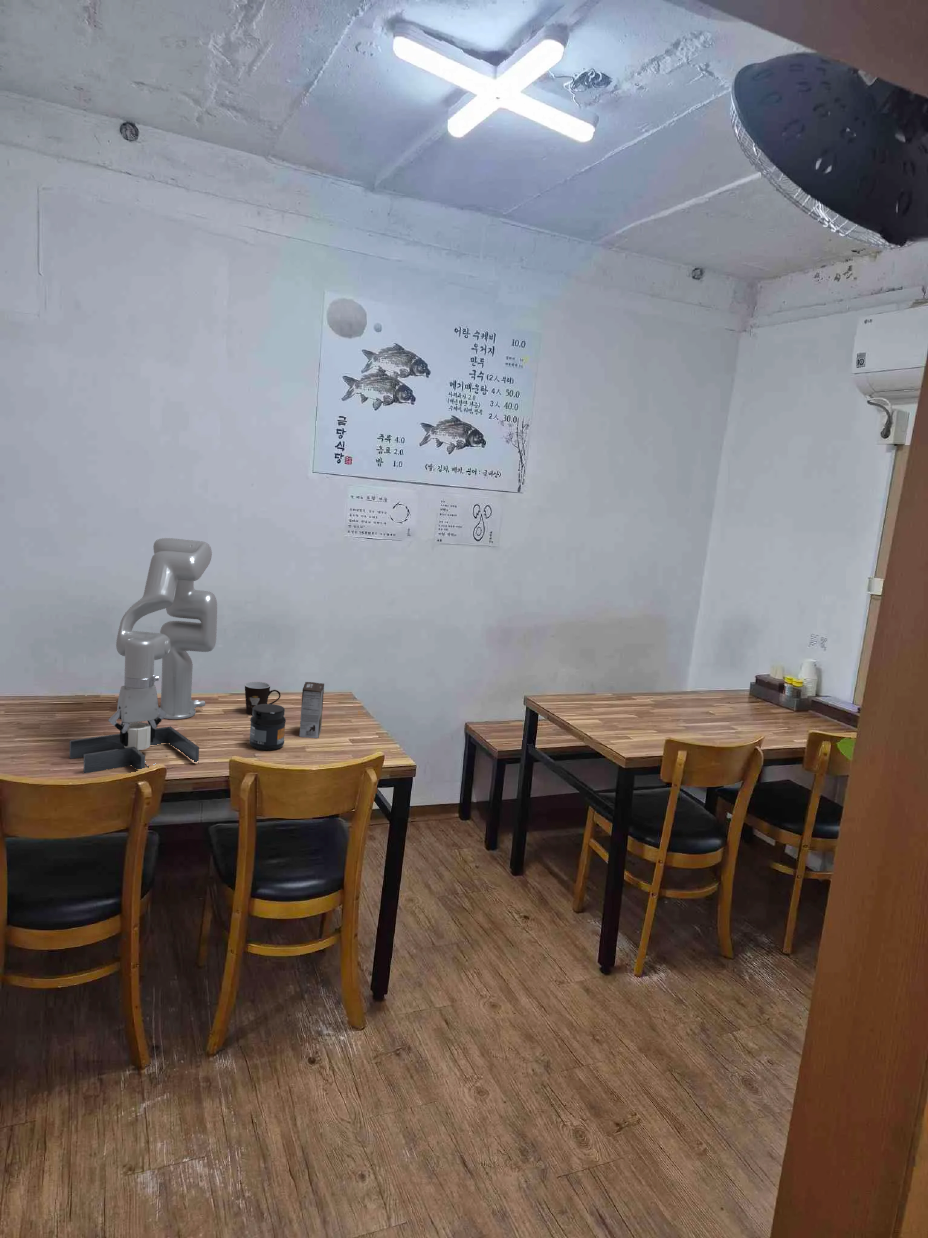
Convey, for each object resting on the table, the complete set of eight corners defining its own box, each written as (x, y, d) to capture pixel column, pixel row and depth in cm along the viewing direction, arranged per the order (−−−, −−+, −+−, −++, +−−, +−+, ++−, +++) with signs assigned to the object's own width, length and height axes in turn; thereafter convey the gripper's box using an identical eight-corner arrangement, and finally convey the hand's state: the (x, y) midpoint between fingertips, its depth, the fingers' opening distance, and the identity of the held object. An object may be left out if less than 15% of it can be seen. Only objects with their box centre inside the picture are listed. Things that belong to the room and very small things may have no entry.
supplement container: (289, 743, 241) (292, 706, 239) (274, 753, 231) (276, 715, 229) (259, 737, 243) (261, 701, 241) (242, 747, 233) (244, 709, 231)
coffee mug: (237, 713, 264) (239, 685, 263) (253, 707, 272) (255, 680, 271) (265, 720, 260) (267, 691, 259) (280, 714, 268) (282, 686, 266)
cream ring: (144, 741, 222) (145, 721, 221) (152, 748, 218) (153, 727, 217) (121, 744, 218) (122, 724, 217) (129, 751, 213) (130, 731, 212)
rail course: (170, 742, 231) (170, 726, 230) (198, 764, 217) (199, 747, 216) (69, 757, 212) (69, 740, 211) (93, 782, 198) (93, 764, 197)
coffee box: (302, 728, 256) (305, 681, 253) (321, 729, 257) (325, 682, 254) (298, 737, 247) (301, 688, 244) (318, 738, 248) (322, 690, 245)
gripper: (164, 675, 223) (162, 734, 226) (102, 681, 211) (100, 743, 215) (175, 682, 218) (172, 742, 221) (111, 688, 206) (109, 752, 209)
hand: (137, 742), depth 218 cm, fingers closed on cream ring, 6 cm apart
